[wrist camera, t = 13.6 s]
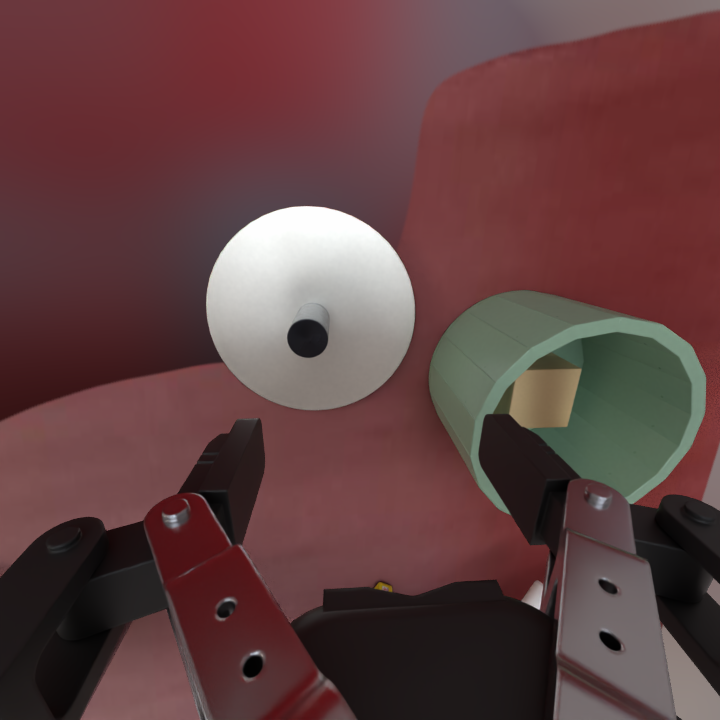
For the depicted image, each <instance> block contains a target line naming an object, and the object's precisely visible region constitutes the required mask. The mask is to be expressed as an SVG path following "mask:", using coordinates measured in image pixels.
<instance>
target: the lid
mask: <svg viewBox="0 0 720 720" xmlns="http://www.w3.org/2000/svg"><path fill="white" fill-rule="evenodd" d="M206 311H207V321H208V325H209V330H210V334H211V336H212V339H213V342H214V344H215V347H216V349H217V351H218V353H219V355H220V357H221V358H222V360H223V361H224V363H225V364H226V366H227V367H228V368H229V370H230V371H231V372H232V373H233V374H234V375H235V376H236V377H237V379H239V380H240V381H241V382H242V383H243V384H244V385H245V386H247V387H248V388H249V389H251V390H252V391H254V392H255V393H256V394H258V395H260V396H262V397H264V398H265V399H267V400H269V401H272V402H274V403H277V404H279V405H283V406H286V407H290V408H295V409H302V410H327V409H333V408H338V407H343V406H346V405H349V404H352V403H354V402H356V401H358V400H361V399H363V398H365V397H366V396H368V395H369V394H371V393H373V392H374V391H375V390H377V389H378V388H379V387H380V386H382V385H383V384H384V383H385V382H386V381H387V380H388V379H389V378H390V377H391V376H392V375H393V373H394V372H395V370H396V369H397V368H398V366H399V365H400V363H401V362H402V360H403V358H404V356H405V355H406V352H407V350H408V347H409V345H410V342H411V338H412V334H413V331H414V323H415V300H414V293H413V289H412V285H411V281H410V278H409V275H408V273H407V271H406V268H405V266H404V264H403V262H402V261H401V259H400V257H399V256H398V254H397V252H396V251H395V250H394V249H393V247H392V246H391V245H390V244H389V242H388V241H387V240H386V239H385V238H384V237H383V236H381V234H380V233H378V232H377V231H376V230H375V229H373V228H372V227H371V226H369V225H368V224H366V223H365V222H363V221H361V220H360V219H358V218H356V217H354V216H352V215H349V214H347V213H344V212H342V211H339V210H335V209H331V208H326V207H318V206H294V207H288V208H284V209H279V210H276V211H273V212H271V213H268V214H265V215H263V216H261V217H259V218H257V219H256V220H254V221H252V222H251V223H249V224H248V225H246V226H245V227H244V228H242V229H241V230H240V231H239V232H238V233H237V234H236V235H235V236H234V237H233V238H232V239H231V240H230V241H229V242H228V244H227V245H226V246H225V248H224V249H223V250H222V252H221V253H220V255H219V257H218V259H217V261H216V263H215V265H214V267H213V270H212V273H211V276H210V279H209V284H208V289H207V300H206Z"/></svg>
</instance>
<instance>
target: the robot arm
mask: <svg viewBox="0 0 720 720" xmlns="http://www.w3.org/2000/svg"><path fill="white" fill-rule="evenodd" d="M478 457H479V462H480V465H481V468H482V469H483V471H484V473H485V474H486V476H487V477H488V479H489V481H490V482H491V484H492V485H493V487H494V489H495V490H496V492H497V493H498V495H499V496H500V498H501V500H502V501H503V503H504V504H505V506H506V508H507V509H508V511H509V512H510V514H511V516H512V517H513V519H514V520H515V522H516V524H517V525H518V527H519V528H520V530H521V532H522V533H523V535H524V536H525V538H526V539H527V541H528V543H529V544H530V545H544V544H547V546H548V547H549V549H550V550H549V554H548V557H547V563H546V570H545V577H544V584H543V591H542V598H541V604H540V610H538V609H537V608H535V607H533V606H531V605H529V604H527V603H524V602H522V601H520V600H517V599H514V598H511V597H507V596H504V595H503V593H502V591H501V589H500V586H499V584H498V582H497V580H482V581H465V582H454V583H451V584H448V585H445V586H443V587H440V588H437V589H434V590H431V591H428V592H426V593H423V594H420V595H417V596H409V595H404V594H399V593H394V592H389V591H384V590H379V589H375V588H370V587H359V588H341V589H324V596H323V606H320V607H317V608H315V609H312V610H310V611H308V612H306V613H304V614H303V615H301V616H300V617H298V618H297V619H295V620H294V621H293V622H291V623H289V621H288V619H287V618H286V616H285V615H284V613H283V611H282V610H281V608H280V606H279V605H278V603H277V602H276V600H275V598H274V597H273V595H272V593H271V592H270V590H269V589H268V587H267V585H266V584H265V582H264V581H263V579H262V577H261V576H260V574H259V572H258V571H257V569H256V568H255V566H254V564H253V563H252V561H251V559H250V558H249V556H248V555H247V553H246V551H245V550H244V548H243V547H242V543H243V540H244V537H245V533H246V530H247V527H248V524H249V520H250V517H251V514H252V510H253V507H254V504H255V501H256V497H257V494H258V491H259V488H260V484H261V481H262V478H263V474H264V468H265V452H264V443H263V433H262V424H261V420H260V419H259V418H257V419H237V420H236V422H235V424H234V425H233V427H232V429H231V431H230V433H229V434H220V435H218V436H217V437H216V438H215V439H213V440H212V441H211V442H209V444H208V445H207V447H206V448H205V450H204V452H203V455H201V457H200V458H199V460H198V461H197V464H196V465H195V466H194V468H193V469H192V471H191V473H190V474H189V476H188V478H187V479H186V481H185V482H184V484H183V486H182V487H181V489H180V491H179V492H178V494H177V495H173V496H171V497H168V498H166V499H164V500H162V501H161V502H159V503H158V504H156V505H155V506H154V507H153V508H152V509H151V510H150V511H149V512H148V513H147V515H146V517H145V519H144V520H143V521H141V522H137V523H134V524H130V525H127V526H123V527H119V528H115V529H112V530H108V531H106V530H105V527H104V524H103V522H102V521H101V520H100V519H98V518H94V517H83V518H77V519H73V520H70V521H67V522H64V523H62V524H60V525H58V526H56V527H54V528H52V529H50V530H48V531H47V532H45V533H44V534H42V535H41V536H40V537H39V538H37V539H36V540H35V541H34V542H33V543H32V544H31V545H30V546H29V547H28V548H27V549H26V550H25V551H24V552H23V554H22V555H21V556H20V557H19V558H18V559H17V560H16V561H15V562H14V563H13V564H12V566H11V567H10V568H9V569H8V570H7V571H6V572H5V573H4V574H3V575H2V576H1V577H0V720H80V719H81V717H82V715H83V714H84V712H85V710H86V708H87V706H88V704H89V702H90V700H91V698H92V697H93V695H94V693H95V691H96V689H97V687H98V685H99V683H100V681H101V680H102V678H103V676H104V674H105V672H106V670H107V668H108V666H109V665H110V663H111V661H112V659H113V657H114V655H115V653H116V651H117V649H118V648H119V646H120V644H121V642H122V640H123V638H124V636H125V634H126V632H127V631H128V629H129V627H130V625H131V623H132V621H133V620H136V619H139V618H141V617H144V616H147V615H150V614H152V613H155V612H158V611H161V610H163V609H166V610H167V613H168V616H169V619H170V622H171V626H172V629H173V632H174V635H175V638H176V642H177V645H178V648H179V651H180V654H181V658H182V661H183V664H184V667H185V671H186V674H187V677H188V680H189V684H190V687H191V691H192V694H193V697H194V701H195V704H196V708H197V711H198V714H199V717H200V720H682V719H680V718H679V717H678V716H676V712H675V707H674V701H673V695H672V689H671V683H670V678H669V672H668V666H667V660H666V655H665V649H664V643H663V637H662V631H661V626H660V621H661V622H662V624H663V625H664V626H665V627H666V629H667V630H668V631H669V632H670V634H671V635H672V636H673V637H674V639H675V640H676V641H677V643H678V644H679V645H680V646H681V648H682V649H683V650H684V651H685V653H686V654H687V655H688V656H689V658H690V659H691V660H692V661H693V662H694V664H695V665H696V667H697V668H698V669H699V670H700V672H701V673H702V674H703V675H704V677H705V678H706V679H707V681H708V682H709V683H710V684H711V686H712V687H713V688H714V690H715V691H716V692H717V693H718V695H719V696H720V606H719V605H718V604H717V603H716V601H715V600H714V599H713V598H712V597H711V596H710V595H709V594H708V593H707V592H706V591H707V590H708V588H709V586H710V584H711V582H712V580H713V578H714V579H715V580H716V581H717V582H718V583H719V584H720V511H719V510H717V509H715V508H714V507H712V506H710V505H708V504H706V503H704V502H702V501H699V500H696V499H693V498H690V497H687V496H682V495H667V496H664V497H663V498H662V500H661V503H660V505H659V508H658V509H655V508H650V507H645V506H639V505H634V504H629V503H628V501H627V500H626V498H625V497H624V496H623V495H622V494H620V493H619V492H618V491H616V490H615V489H613V488H612V487H610V486H608V485H606V484H604V483H601V482H598V481H595V480H591V479H584V478H581V477H580V476H579V475H578V474H577V473H576V472H575V471H574V470H573V469H572V468H571V467H570V466H569V465H568V464H567V463H566V462H565V461H564V460H563V459H562V458H561V457H560V456H559V455H558V454H555V451H554V450H553V449H552V448H551V447H550V446H547V443H546V442H545V441H544V440H543V439H542V438H541V437H540V436H539V435H537V434H536V433H534V432H532V431H531V430H529V429H527V428H525V427H521V426H520V425H519V424H518V423H517V421H516V420H515V419H514V418H513V417H512V416H511V415H509V414H486V415H485V417H484V420H483V425H482V432H481V438H480V444H479V450H478Z"/></svg>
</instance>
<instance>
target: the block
mask: <svg viewBox="0 0 720 720" xmlns="http://www.w3.org/2000/svg"><path fill="white" fill-rule="evenodd" d="M581 370H582V369H581V368H579V367H578V366H576V365H574V364H572V363H570V362H568V361H566V360H565V359H563V358H561V357H559V356H557V355H555V354H554V353H552V352H551V353H549V354H547V355H545V356H543V357H541V358H539V359H537V360H536V361H535V362H534V363H533V364H532V365H531V366H530V367H529V368H528V369H527V370H526V371H525V372H524V373H523V374H522V375H520V376H519V377H518V378H517V379H516V380H515V381H514V382H513V383H512V384H511V385H510V386H509V387H508V388H507V389H506V390H505V392H504V394H503V396H502V398H501V399H500V401H499V403H498V405H497V407H496V408H495V410H494V412H493V414H509V415H511V416H512V417H513V418H514V419H515V420H516V421H517V423H518V424H519V425H520V426H521V427H525V428H550V427H567V426H568V422H569V418H570V414H571V410H572V406H573V402H574V398H575V394H576V390H577V386H578V382H579V378H580V374H581Z"/></svg>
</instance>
